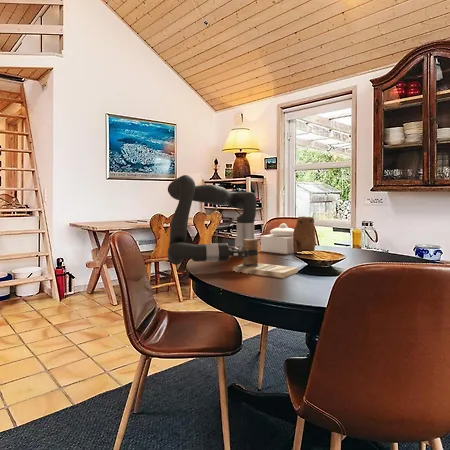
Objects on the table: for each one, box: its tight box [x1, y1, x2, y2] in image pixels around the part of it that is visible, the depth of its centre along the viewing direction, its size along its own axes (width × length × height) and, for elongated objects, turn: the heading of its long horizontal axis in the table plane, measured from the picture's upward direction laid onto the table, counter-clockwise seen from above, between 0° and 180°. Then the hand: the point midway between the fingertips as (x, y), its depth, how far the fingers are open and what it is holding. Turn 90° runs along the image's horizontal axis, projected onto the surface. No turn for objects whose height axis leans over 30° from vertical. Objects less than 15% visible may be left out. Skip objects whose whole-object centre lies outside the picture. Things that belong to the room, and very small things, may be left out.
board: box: [232, 262, 299, 279], centre depth 158 cm, size 23×13×2 cm, turn 55°
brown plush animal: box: [293, 216, 316, 254], centre depth 204 cm, size 11×8×20 cm
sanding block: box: [242, 238, 259, 267], centre depth 161 cm, size 5×5×11 cm
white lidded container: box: [260, 222, 295, 255], centre depth 218 cm, size 18×18×16 cm
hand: (254, 251), depth 162 cm, fingers open, 8 cm apart
